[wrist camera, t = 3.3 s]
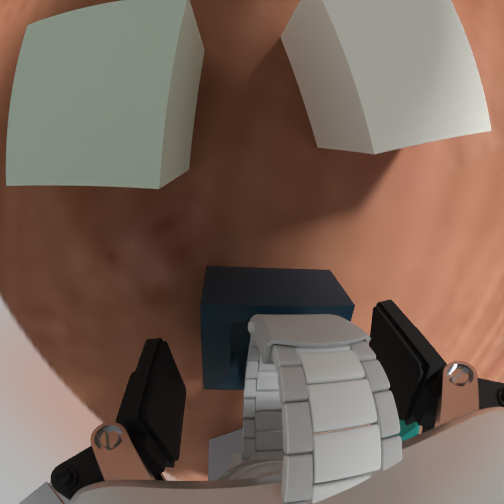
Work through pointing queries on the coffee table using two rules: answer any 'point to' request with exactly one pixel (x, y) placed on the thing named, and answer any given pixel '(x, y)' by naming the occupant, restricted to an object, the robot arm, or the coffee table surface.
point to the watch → (297, 379)
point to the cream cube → (384, 73)
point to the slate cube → (224, 452)
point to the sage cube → (106, 96)
